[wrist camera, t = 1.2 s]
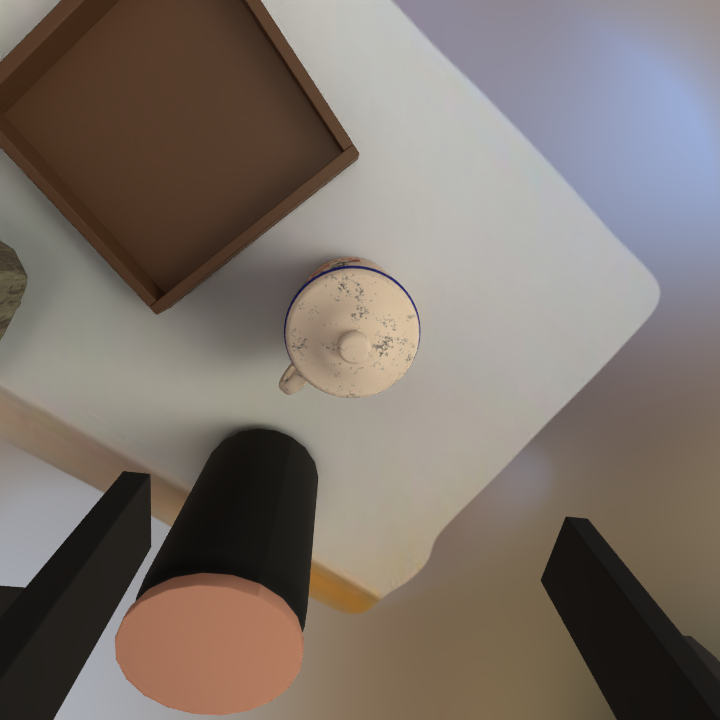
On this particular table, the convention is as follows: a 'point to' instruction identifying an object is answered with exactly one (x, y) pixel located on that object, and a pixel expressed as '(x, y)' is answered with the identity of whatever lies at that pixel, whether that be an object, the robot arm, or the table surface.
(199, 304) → the table surface
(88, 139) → the tray
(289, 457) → the coffee jar
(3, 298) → the green bell
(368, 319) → the teacup with lid
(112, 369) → the table surface
